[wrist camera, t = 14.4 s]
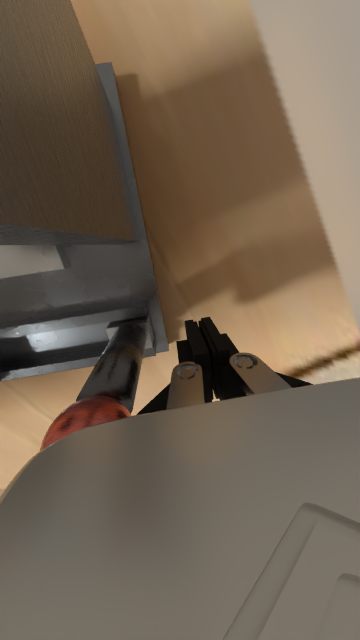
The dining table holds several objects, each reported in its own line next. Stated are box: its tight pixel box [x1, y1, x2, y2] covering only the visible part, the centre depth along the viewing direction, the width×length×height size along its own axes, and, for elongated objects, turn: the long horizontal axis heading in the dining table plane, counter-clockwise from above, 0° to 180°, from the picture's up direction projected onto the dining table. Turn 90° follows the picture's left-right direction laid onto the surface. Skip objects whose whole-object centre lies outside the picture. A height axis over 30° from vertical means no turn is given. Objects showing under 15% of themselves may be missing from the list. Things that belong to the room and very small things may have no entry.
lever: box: [40, 313, 154, 451], centre depth 10 cm, size 3×3×11 cm
